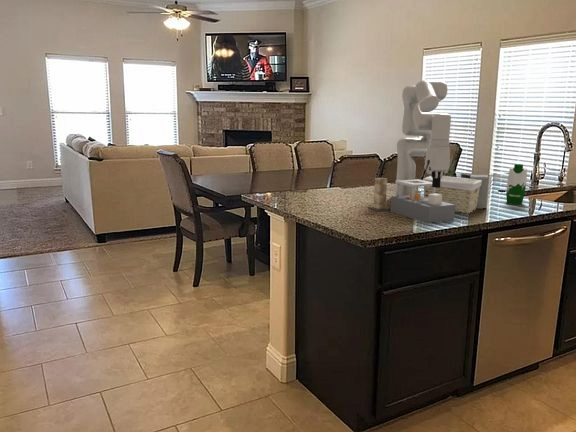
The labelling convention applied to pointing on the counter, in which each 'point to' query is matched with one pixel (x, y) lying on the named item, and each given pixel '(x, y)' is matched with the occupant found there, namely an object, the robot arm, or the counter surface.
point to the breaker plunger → (417, 196)
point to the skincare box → (481, 190)
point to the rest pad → (378, 209)
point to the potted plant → (450, 169)
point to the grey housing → (420, 204)
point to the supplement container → (467, 175)
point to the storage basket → (457, 192)
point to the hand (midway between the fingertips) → (435, 187)
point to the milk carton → (516, 184)
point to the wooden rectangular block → (380, 193)
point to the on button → (434, 199)
